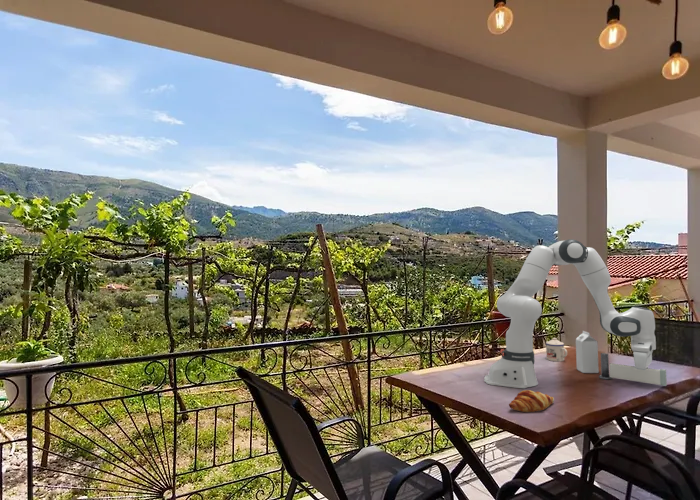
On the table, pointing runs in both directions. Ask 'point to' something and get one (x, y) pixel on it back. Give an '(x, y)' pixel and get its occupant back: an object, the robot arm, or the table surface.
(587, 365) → the milk carton
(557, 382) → the table surface
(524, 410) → the croissant
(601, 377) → the hinge post
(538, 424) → the table surface
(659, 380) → the gate
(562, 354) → the teacup with lid
